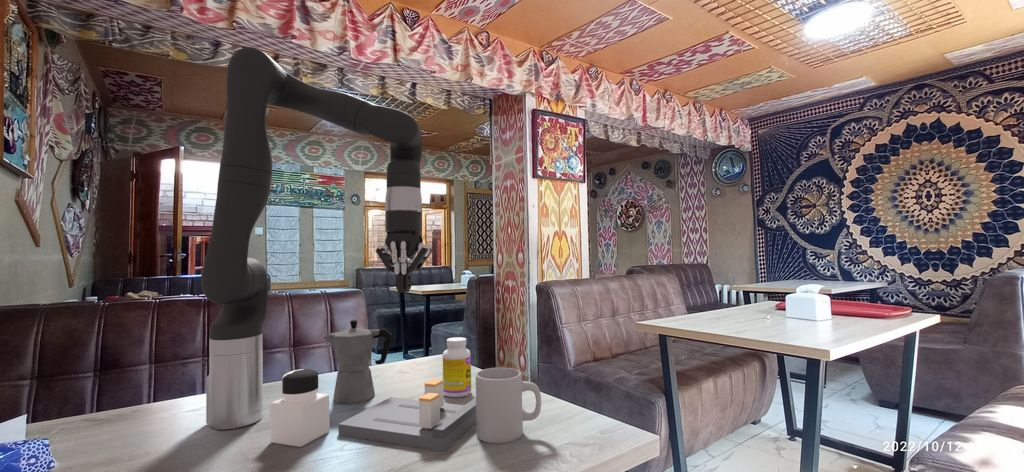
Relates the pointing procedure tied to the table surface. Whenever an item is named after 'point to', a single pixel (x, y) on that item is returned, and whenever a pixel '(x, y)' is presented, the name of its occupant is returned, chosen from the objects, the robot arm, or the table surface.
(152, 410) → the table surface
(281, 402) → the medicine bottle
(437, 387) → the fader far
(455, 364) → the supplement bottle
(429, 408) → the fader near
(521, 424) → the mug
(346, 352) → the coffeepot
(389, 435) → the console
